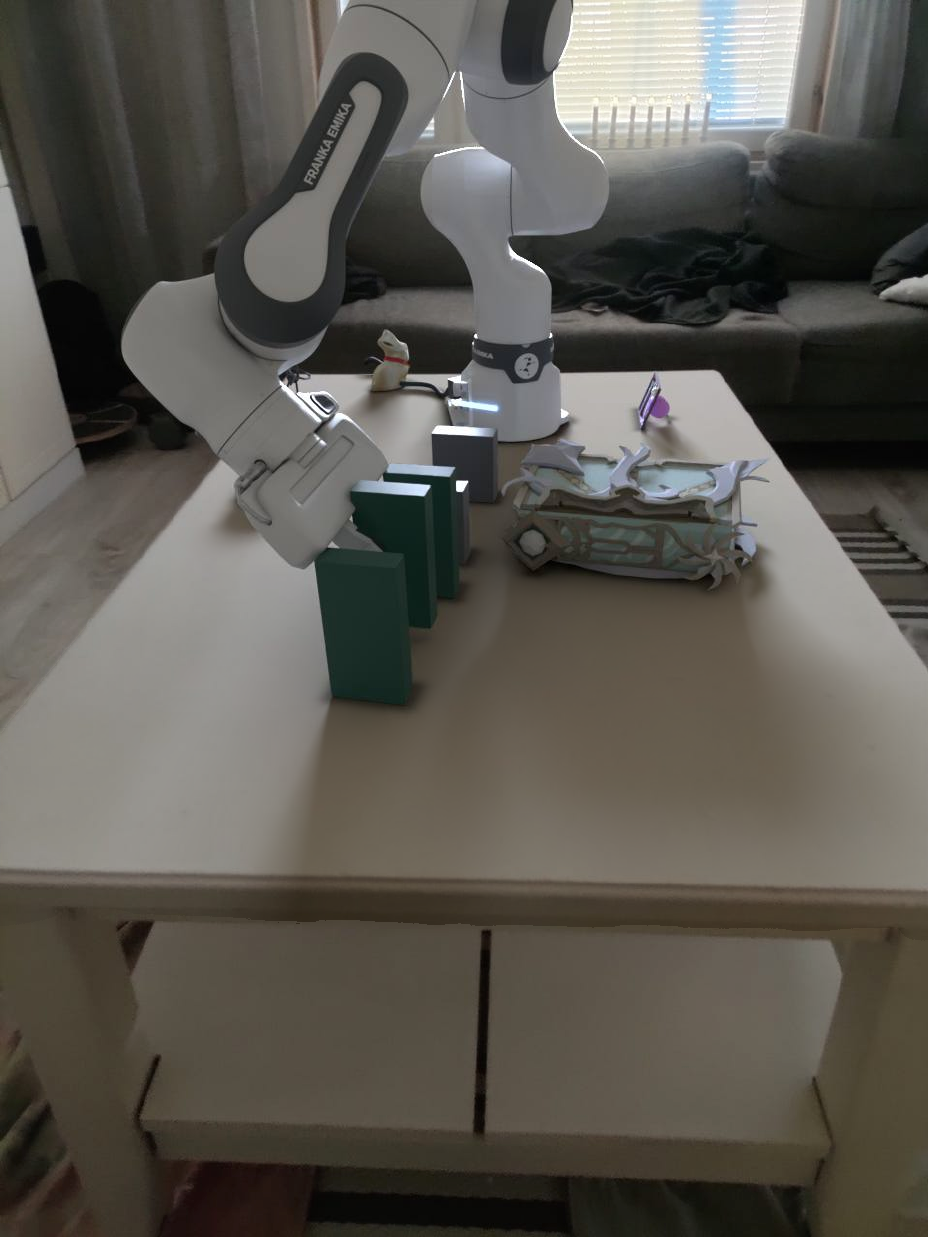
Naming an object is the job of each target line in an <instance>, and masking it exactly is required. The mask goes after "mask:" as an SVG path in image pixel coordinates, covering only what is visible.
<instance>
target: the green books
mask: <svg viewBox="0 0 928 1237" xmlns="http://www.w3.org/2000/svg"><path fill="white" fill-rule="evenodd" d="M388 464H389V467H388V469H387V470H386V471H385V472H384V474H383V475H382V482H395V483H409V484H423V485H432V505H433V527H434V548H435V570H436V592H437V598H443V599H444V598H445V599H453V600H454V599H455V598H456V596H457V593H458V592H459V590H460V587H461V586H460V585H461V584H460V580H461V579H460V564H459V548H458V516H457V483H456V467H443V466H433V465H426V464H411V463H398V462H397V463H395V462H389V463H388ZM313 563H314V570H315V578H316V586H317V593H318V601H319V609H320V610H319V611H320V615H321V624H322V632H323V640H324V647H325V657H326V663H327V669H328V671H327V672H328V678H329V686H330V695H331V697H333V698H339V699H349V700H355V701H365V702H373V703H381V704H390V705H398V706H406V705H407V703H408V701H409V698H410V697H411V694H412V692H413V689H414V682H413V667H412V654H411V652H412V651H411V638H410V637H411V636H410V627H409V621H408V607H407V592H406V577H405V563H404V554H400V553H389V552H377V551H366V550H354V549H342V548H339V547H330V546H328V547H327V548H326V549H325V551H324V552H323V553H320V554H319V556H318V557H317V558H316V559H315V561H314V562H313Z"/></svg>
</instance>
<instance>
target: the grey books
mask: <svg viewBox="0 0 928 1237" xmlns="http://www.w3.org/2000/svg"><path fill="white" fill-rule="evenodd" d="M430 435H431V436H430V437H431V438H430V439H431V456H432V458H431V459H432V460H431V461H432V466H443V467H456V483H457V516H458V548H459V565H465V564H466V562H467V560H468V559H469V556H470V554H471V520H470V519H471V518H470V502H474V503H475V502H476V503H491V504H494V502H495V501H496V498H497V496H498V494H499V443H498V442H499V441H498V429H491V428H473V427H455V426H453V425H451V426H450V425H436V426H435V428H434V429H433V431H432V432H431V434H430Z"/></svg>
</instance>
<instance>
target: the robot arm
mask: <svg viewBox="0 0 928 1237" xmlns="http://www.w3.org/2000/svg"><path fill="white" fill-rule="evenodd" d="M573 16H574V0H348V2H347V4H346V6H345V8H344V10H343V12H342V14H341V16H340V18H339V20H338V23H337V24H336V27H335V29H334V32H333V33H332V36H331V39H330V41H329V44H328V47H327V50H326V53H325V57H324V59H323V61H322V66H321V69H320V73H319V77H318V80H317V81H318V82H317V86H316V95H315V96H316V100H317V106H316V110H315V113H314V114H313V116H312V118H311V120H310V122H309V124H308V126H307V128H306V130H305V132H304V134H303V135H302V138H301V140H300V141H299V144H298V145H297V148H296V149H295V152H294V154H293V155H292V157H291V159H290V161H289V163H288V165H287V168H286V169H285V171H284V173H283V175H282V177H281V179H280V181H279V183H278V184H277V185H276V187H275V188H274V189H273V190H272V192H270V193H269V195H267V196H266V197H265V198H264V199H263V200H262V201H260V202H259V203H258V204H257V205H255V206H254V207H253V208H251V209H250V210H249V211H247V212H246V213H244V214H243V215H242V216H241V217H239V219H237V220H236V221H235V222H234V223H233V224H232V225H231V226H230V227H229V228H228V230H227V231H226V233H225V234H224V235H223V237H222V239H221V241H220V243H219V245H218V248H217V250H216V254H215V258H214V265H213V267H214V268H213V273H210V274H207V275H203V276H200V277H195V278H191V279H184V280H179V281H164V280H162V281H158V282H156V283H155V284H153V285H151V286H150V288H148V289H147V290H145V291H144V293H143V294H141V296H140V297H139V298H138V300H137V301H136V302H135V304H134V305H133V307H132V308H131V310H130V312H129V314H128V316H127V317H126V319H125V322H124V325H123V328H122V330H121V335H120V349H121V355H122V357H123V360H124V362H125V364H126V366H127V367H128V369H129V370H130V372H132V374H133V376H135V378H136V379H137V380H138V381H139V382H140V383H141V384H142V386H144V388H145V389H146V390H147V391H148V392H149V393H150V394H151V395H152V396H153V397H154V398H155V399H156V400H157V401H158V402H159V403H160V404H161V405H162V406H163V407H164V408H165V409H166V410H167V411H168V412H169V413H170V414H172V415H173V417H175V418H176V419H177V420H178V421H179V422H181V423H182V424H184V425H186V426H188V427H190V428H192V429H193V430H194V431H198V432H199V433H198V434H200V436H201V437H203V438H205V440H204V441H206V443H207V444H208V446H209V447H210V449H211V450H212V452H213V453H214V454H215V455H216V456H217V458H219V459H220V460H221V461H222V462H224V463H225V464H226V465H227V466H228V467H229V468H230V469H231V470H232V471H233V472H235V474H237V475H238V476H239V477H238V478H237V479H236V480H235V481H234V483H233V488H234V492H235V493H234V494H235V497H236V503H237V505H238V506H239V507H240V508H241V509H242V510H243V511H244V514H245V516H246V518H247V520H248V521H249V523H250V524H251V525H252V527H253V528H254V529H255V530H256V531H257V533H258V534H259V536H261V538H262V539H263V540H264V541H265V542H266V543H267V544H268V545H269V546H270V547H271V548H272V549H273V551H275V552H276V553H277V554H278V555H279V557H280V558H282V559H283V560H284V561H285V562H286V563H287V564H288V565H290V566H291V567H294V568H296V569H299V570H306V569H307V568H308V567H309V566H311V565H312V564H313V563H314V561H315V559H316V558H317V557H318V556H319V554H320V553H323V552H324V551H325V549H326V548H327V547H330V546H329V545H330V544H331V543H333V544H334V545H335V546H337V548H342V549H354V550H366V551H377V552H386V547H385V546H384V545H383V544H381V542H380V541H379V540H378V539H377V538H376V537H375V536H374V537H373V538H372V539H370V538H368V537H366V536H365V535H363V534H361V533H359V532H357V531H356V529H357V526H356V525H355V524H354V523H353V521H352V520H351V519H350V518H352V514H353V513H354V512H355V510H356V509H355V506H354V505H353V504H352V502H351V500H350V490H351V489H352V488H353V486H354V485H355V484H356V483H357V481H358V480H366V481H379V480H380V479H381V478H382V477H383V474H384V472H385V471H386V470H387V469H388V467H389V464H390V463H389V462H388V460H387V457H386V455H385V454H384V452H383V451H382V449H381V448H380V447H379V446H378V445H377V444H376V443H375V442H374V440H373V439H372V438H371V437H369V435H368V434H367V433H366V432H365V431H364V430H363V429H362V428H361V427H360V426H359V425H358V424H357V423H356V422H355V421H354V420H352V419H351V418H350V417H348V416H347V415H345V414H343V413H340V412H338V411H339V409H340V404H339V402H338V401H337V400H336V399H335V398H334V397H333V396H332V395H331V394H330V393H328V392H326V391H318V392H310V393H309V392H307V393H303V392H299V393H297V392H296V393H294V392H293V391H292V390H291V389H290V388H289V387H286V386H287V385H286V384H285V383H284V382H283V381H282V380H281V378H280V376H281V375H283V374H284V373H285V372H286V371H288V369H290V368H291V367H294V366H295V365H296V364H298V365H299V364H300V363H302V362H304V361H305V360H307V359H308V358H309V357H310V356H312V355H313V353H314V352H315V351H316V350H317V348H318V347H319V346H320V344H321V342H322V340H323V338H324V337H325V333H326V331H327V330H328V327H329V324H330V323H331V322H332V321H333V319H334V318H335V316H336V315H337V313H338V312H339V309H340V308H341V305H342V303H343V298H344V294H345V288H346V275H347V274H346V273H347V271H346V270H347V269H346V267H347V266H346V264H347V263H346V248H347V247H346V245H347V238H348V234H349V232H350V229H351V226H352V224H353V222H354V220H355V218H356V215H357V213H358V211H359V209H360V207H361V205H362V203H363V201H364V199H365V197H366V194H367V192H368V190H369V188H370V186H371V184H372V182H373V180H374V177H375V176H376V173H377V171H378V169H379V168H380V165H381V164H382V162H383V161H384V159H385V158H392V157H398V156H401V155H405V154H406V153H408V152H410V150H411V149H412V148H413V147H414V146H415V144H416V143H417V142H418V140H419V139H420V138H421V136H422V135H423V133H424V132H425V131H426V130H427V128H428V126H429V125H430V123H431V122H432V120H433V118H434V117H435V116H436V113H437V112H438V109H439V108H440V106H441V104H442V102H443V100H444V98H445V96H446V94H447V92H448V90H449V87H450V85H451V83H452V80H453V78H454V76H455V73H460V80H461V90H462V98H463V107H464V109H463V110H464V116H465V117H464V118H465V122H466V125H467V128H468V131H469V132H470V134H471V136H472V138H473V139H474V140H475V141H476V142H477V144H478V145H479V146H480V147H464V148H459V149H455V150H450V151H447V152H443V153H440V154H435V155H434V156H433V157H432V158H431V160H430V161H429V163H427V166H426V167H425V169H424V172H423V174H422V178H421V181H420V188H419V190H420V202H421V205H422V209H423V212H424V214H425V217H426V218H427V220H428V221H429V223H430V224H431V226H432V227H434V229H435V230H437V231H438V232H439V233H441V234H442V235H443V236H444V237H445V238H446V239H447V240H449V241H450V242H451V244H452V245H453V246H454V247H455V248H456V250H457V251H458V253H459V255H460V256H461V257H462V259H463V261H464V262H465V265H466V267H467V270H468V272H469V275H470V279H471V283H472V288H473V298H474V310H475V334H474V335H473V342H472V344H471V358H472V360H471V361H470V362H469V363H468V364H467V366H466V367H465V368H464V369H463V370H462V372H461V373H460V375H459V376H454V377H451V378H447V387H446V388H445V391H442V390H441V388H439V387H438V386H436V385H435V384H433V383H431V382H427V381H416V380H412V381H411V380H408V381H400V382H399V385H400V386H403V387H421V388H428V389H431V390H432V391H433V392H434V393H435V394H437V395H438V396H439V397H440V398H448V400H447V406H446V407H447V410H448V413H449V417H450V421H451V426H455V427H473V428H491V429H498V442H511V443H512V442H528V441H533V440H539V439H543V438H546V437H548V436H551V435H553V434H554V433H556V432H557V431H558V430H559V428H560V426H562V425H564V424H565V423H568V422H569V421H570V413H569V412H567V411H566V410H563V409H562V408H563V407H562V406H563V405H562V379H561V378H562V377H561V370H560V369H559V368H558V367H557V366H556V365H554V364H553V359H554V349H555V344H554V335H553V333H551V328H552V327H551V326H552V325H551V324H552V320H551V319H552V291H553V289H552V283H551V281H550V279H549V276H548V275H547V274H546V272H545V271H544V270H543V269H542V268H540V267H539V266H537V265H535V264H534V263H532V262H530V261H528V260H527V259H525V258H523V257H521V256H519V255H517V254H516V253H515V252H514V251H513V249H512V247H511V245H510V242H509V238H510V237H513V236H562V235H566V234H572V233H576V232H577V233H578V232H580V231H584V230H585V231H586V230H589V229H592V228H593V227H594V226H595V225H596V224H597V223H598V222H599V220H600V219H601V217H602V216H603V214H604V212H605V210H606V207H607V205H608V201H609V196H610V179H609V174H608V170H607V167H606V166H605V163H604V161H603V160H602V159H601V157H600V156H599V155H598V154H597V152H595V151H594V150H592V149H590V148H587V146H585V145H583V144H581V143H580V142H579V141H578V140H577V139H575V137H574V136H572V134H571V133H570V132H569V131H568V129H567V127H566V126H565V125H564V124H563V122H562V120H561V118H560V115H559V112H558V107H557V97H556V83H555V71H556V70H557V69H558V67H559V66H560V63H561V62H562V60H563V56H564V54H565V52H566V49H567V47H568V44H569V41H570V39H571V38H570V37H571V34H572V28H573V18H574V17H573ZM370 363H374V364H376V365H377V366H379V365H380V364H382V363H383V361H381V360H380V359H379V358H376V357H374V356H370V357H367V358H365V360H364V361H363V365H364V366H368V365H369V364H370ZM278 376H279V377H278ZM279 378H280V379H279ZM337 412H338V413H337ZM243 491H244V492H243ZM240 492H243V493H242V494H241V493H240Z"/></svg>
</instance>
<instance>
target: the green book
mask: <svg viewBox="0 0 928 1237" xmlns="http://www.w3.org/2000/svg"><path fill="white" fill-rule="evenodd" d="M350 500H351V502H352V504H353V505H354V506H355V509H356V510H355V512H354V513H353V514H352V516H351V521H352V522H353V523H354V524H355V525H356V526H357V529H356V531H357V532H359V533H361V534H363V535H365V536H366V537H368V538H370V539H372V538H373V537H374V536H375V537H376V538H377V539H378V540H379V541H380V542H381V544H383V545H384V546H385V547H386V552H389V553H400V554H404V563H405V577H406V592H407V607H408V621H409V628H414V629H423V630H424V629H425V630H432V628H433V626H434V624H435V622H436V621H437V618H438V615H439V614H438V599H437V598H438V597H437V592H436V570H435V548H434V527H433V505H432V485H423V484H409V483H395V482H383V481H379V480H378V481H366V480H358V481H357V483H356V484H355V485H354V486H353V488H352V489H351V490H350Z"/></svg>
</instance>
